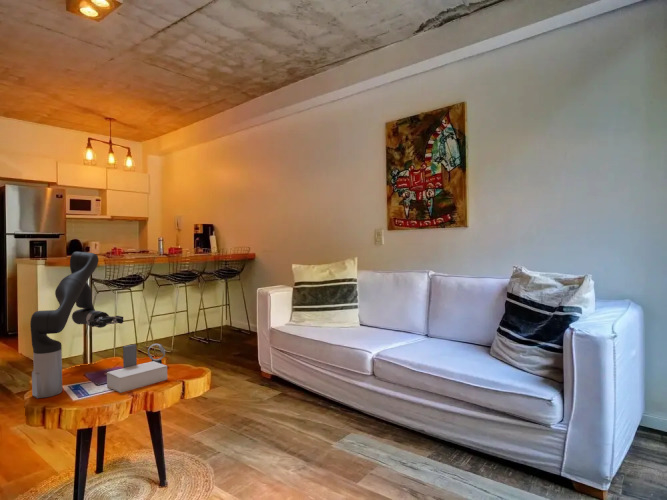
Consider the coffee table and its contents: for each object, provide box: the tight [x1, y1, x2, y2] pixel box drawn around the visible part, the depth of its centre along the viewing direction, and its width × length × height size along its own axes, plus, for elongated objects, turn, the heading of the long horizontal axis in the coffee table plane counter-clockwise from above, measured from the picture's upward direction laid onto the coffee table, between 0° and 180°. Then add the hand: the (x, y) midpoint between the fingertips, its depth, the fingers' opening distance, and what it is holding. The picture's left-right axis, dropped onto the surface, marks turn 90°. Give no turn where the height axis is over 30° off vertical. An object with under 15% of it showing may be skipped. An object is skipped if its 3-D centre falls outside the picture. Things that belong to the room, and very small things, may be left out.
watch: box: [147, 343, 167, 364], centre depth 197 cm, size 6×8×11 cm
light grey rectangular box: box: [106, 360, 168, 393], centre depth 174 cm, size 20×12×6 cm, turn 142°
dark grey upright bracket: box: [122, 344, 138, 368], centre depth 175 cm, size 18×13×14 cm
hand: (112, 322), depth 188 cm, fingers open, 8 cm apart
